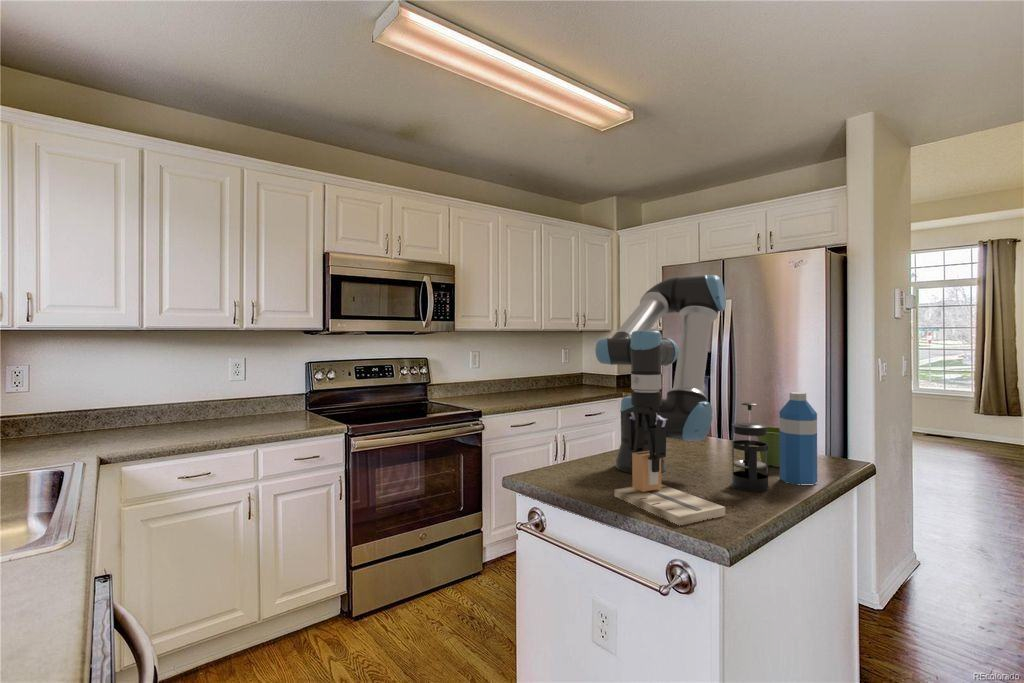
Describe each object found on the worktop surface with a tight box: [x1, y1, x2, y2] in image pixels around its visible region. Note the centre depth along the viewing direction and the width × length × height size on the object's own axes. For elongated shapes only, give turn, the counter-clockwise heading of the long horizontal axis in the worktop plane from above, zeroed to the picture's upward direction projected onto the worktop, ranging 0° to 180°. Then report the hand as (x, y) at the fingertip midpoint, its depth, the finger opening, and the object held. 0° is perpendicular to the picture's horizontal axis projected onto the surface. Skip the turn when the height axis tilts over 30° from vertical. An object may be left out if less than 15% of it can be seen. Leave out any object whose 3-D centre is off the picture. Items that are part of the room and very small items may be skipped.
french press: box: [731, 402, 770, 493], centre depth 142 cm, size 12×9×23 cm
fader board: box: [613, 483, 726, 527], centre depth 127 cm, size 23×14×2 cm, turn 26°
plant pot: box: [756, 426, 780, 468], centre depth 166 cm, size 12×12×11 cm
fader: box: [631, 451, 662, 492], centre depth 133 cm, size 4×6×9 cm, turn 116°
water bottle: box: [778, 391, 818, 485], centre depth 147 cm, size 9×9×25 cm
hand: (646, 481), depth 133 cm, fingers closed on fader, 4 cm apart
